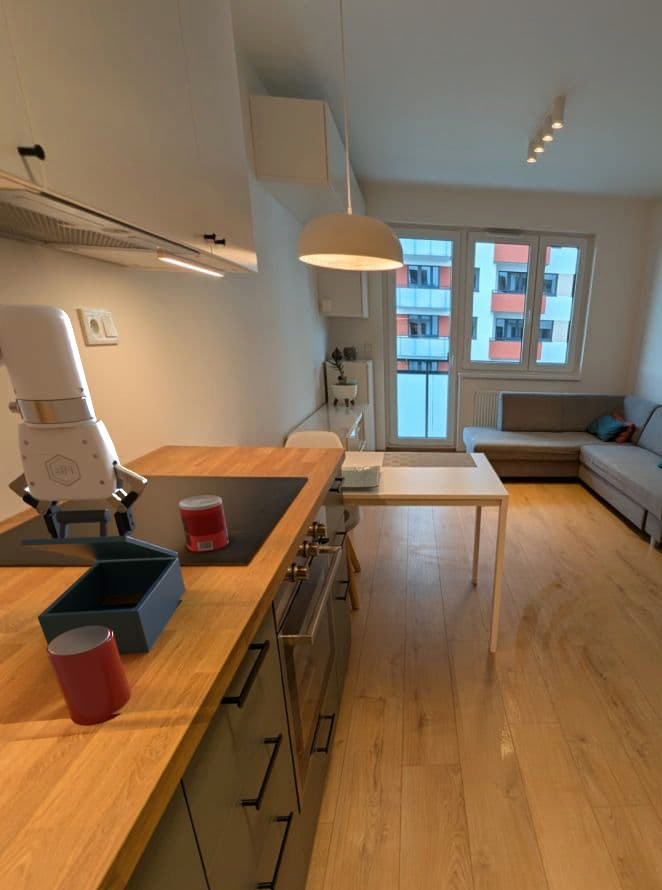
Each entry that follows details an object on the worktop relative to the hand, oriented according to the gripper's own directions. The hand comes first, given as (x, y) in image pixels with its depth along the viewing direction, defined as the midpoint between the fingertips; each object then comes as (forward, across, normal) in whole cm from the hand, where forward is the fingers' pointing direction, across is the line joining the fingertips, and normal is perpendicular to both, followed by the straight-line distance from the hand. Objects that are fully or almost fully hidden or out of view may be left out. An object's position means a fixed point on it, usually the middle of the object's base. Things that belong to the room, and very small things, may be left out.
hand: (95, 536), depth 72 cm
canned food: (+17, +5, +31) cm, 35 cm away
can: (+16, +4, -17) cm, 24 cm away
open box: (+16, 0, +2) cm, 16 cm away
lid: (+4, 0, +2) cm, 4 cm away
